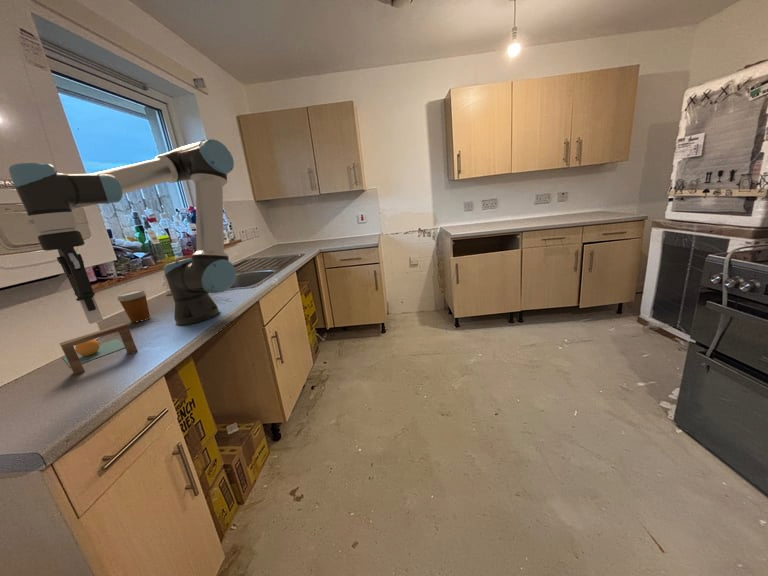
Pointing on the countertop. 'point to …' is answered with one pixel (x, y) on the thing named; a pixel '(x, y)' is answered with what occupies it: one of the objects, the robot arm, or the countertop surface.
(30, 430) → the countertop surface
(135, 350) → the bridge
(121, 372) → the countertop surface
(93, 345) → the ball
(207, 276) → the robot arm
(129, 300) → the disposable coffee cup
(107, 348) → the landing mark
